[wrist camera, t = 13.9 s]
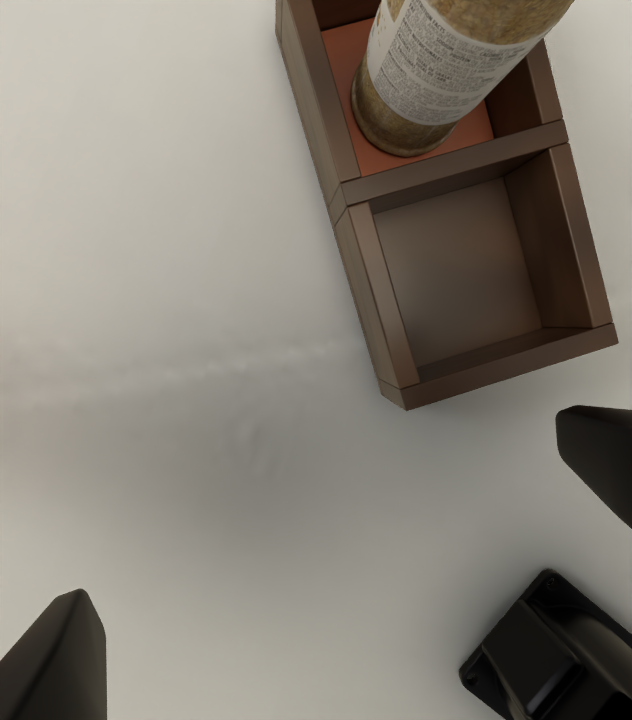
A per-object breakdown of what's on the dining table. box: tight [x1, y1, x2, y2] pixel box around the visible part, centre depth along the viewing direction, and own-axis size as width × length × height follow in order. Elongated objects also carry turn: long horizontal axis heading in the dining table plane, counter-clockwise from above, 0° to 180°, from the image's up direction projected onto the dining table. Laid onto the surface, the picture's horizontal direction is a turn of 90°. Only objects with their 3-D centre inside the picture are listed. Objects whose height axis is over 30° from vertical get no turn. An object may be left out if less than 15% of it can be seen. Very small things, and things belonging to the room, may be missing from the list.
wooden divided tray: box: [275, 0, 618, 411], centre depth 19 cm, size 15×8×4 cm, turn 17°
